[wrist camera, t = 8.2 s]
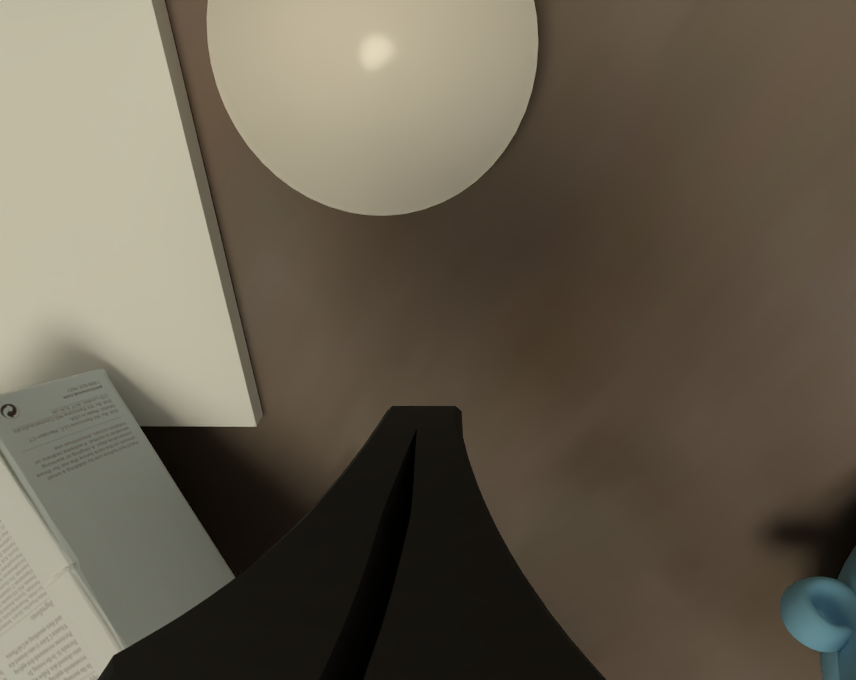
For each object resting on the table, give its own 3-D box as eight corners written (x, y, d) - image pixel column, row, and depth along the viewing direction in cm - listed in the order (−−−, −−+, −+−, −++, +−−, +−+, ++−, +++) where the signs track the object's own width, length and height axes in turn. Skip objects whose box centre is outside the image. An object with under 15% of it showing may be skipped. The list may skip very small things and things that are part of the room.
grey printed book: (-83, 570, 34) (65, 851, 32) (-220, 628, 29) (-55, 962, 28) (121, 359, 25) (347, 743, 23) (-33, 395, 20) (239, 883, 18)
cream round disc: (594, 96, 19) (600, 105, 18) (350, 250, 22) (340, 267, 21) (418, -233, 16) (409, -252, 15) (165, 1, 19) (139, 3, 18)
